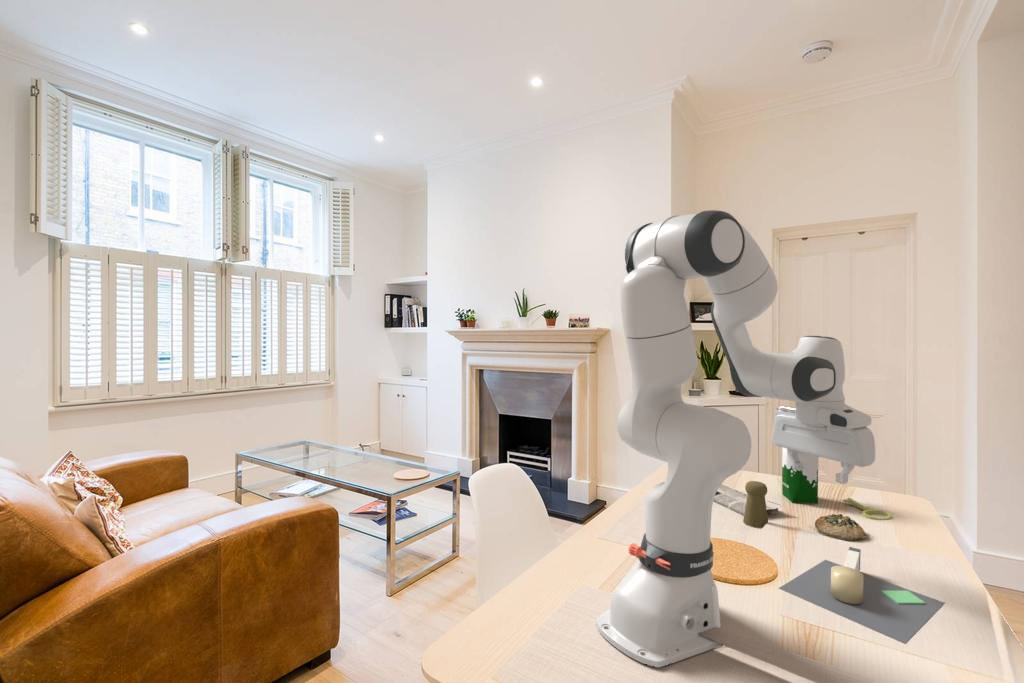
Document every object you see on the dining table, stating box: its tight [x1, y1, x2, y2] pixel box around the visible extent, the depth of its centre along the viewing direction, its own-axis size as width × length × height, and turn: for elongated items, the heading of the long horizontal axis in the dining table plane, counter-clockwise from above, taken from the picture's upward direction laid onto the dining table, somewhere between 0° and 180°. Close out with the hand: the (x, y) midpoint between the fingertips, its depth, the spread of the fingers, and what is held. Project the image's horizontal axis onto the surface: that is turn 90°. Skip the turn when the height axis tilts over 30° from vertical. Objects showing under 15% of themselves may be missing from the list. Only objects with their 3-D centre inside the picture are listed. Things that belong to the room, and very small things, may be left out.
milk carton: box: [781, 447, 819, 505], centre depth 146 cm, size 9×9×20 cm
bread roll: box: [814, 513, 868, 542], centre depth 123 cm, size 11×11×5 cm
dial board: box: [778, 559, 946, 645], centre depth 92 cm, size 20×20×2 cm
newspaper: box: [713, 482, 785, 517], centre depth 149 cm, size 35×12×4 cm, turn 20°
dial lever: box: [831, 546, 864, 604], centre depth 95 cm, size 16×5×5 cm, turn 139°
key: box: [842, 497, 892, 521], centre depth 136 cm, size 7×12×2 cm, turn 25°
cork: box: [742, 480, 769, 529], centre depth 128 cm, size 6×6×11 cm
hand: (818, 476), depth 104 cm, fingers open, 8 cm apart
